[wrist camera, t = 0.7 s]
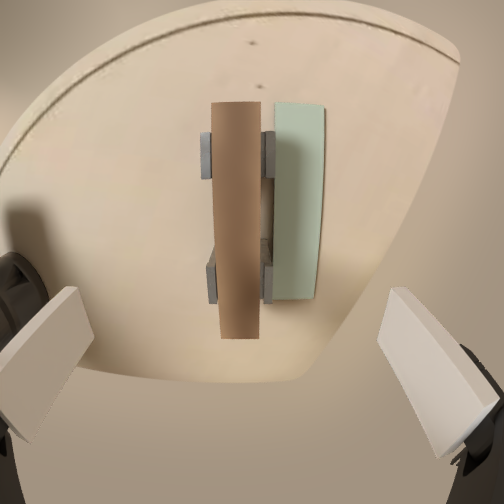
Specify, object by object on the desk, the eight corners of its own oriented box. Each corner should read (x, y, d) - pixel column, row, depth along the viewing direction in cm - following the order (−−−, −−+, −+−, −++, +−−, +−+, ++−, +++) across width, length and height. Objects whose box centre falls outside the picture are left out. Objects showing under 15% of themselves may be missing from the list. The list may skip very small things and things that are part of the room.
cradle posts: (217, 269, 34) (209, 303, 26) (212, 137, 28) (200, 132, 21) (267, 269, 34) (272, 303, 26) (268, 136, 28) (275, 131, 21)
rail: (224, 314, 28) (221, 338, 24) (217, 110, 21) (211, 102, 17) (257, 315, 28) (259, 338, 24) (258, 110, 21) (260, 101, 17)
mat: (271, 297, 35) (271, 299, 35) (274, 103, 27) (275, 102, 26) (312, 296, 35) (313, 298, 35) (322, 106, 27) (324, 105, 26)
